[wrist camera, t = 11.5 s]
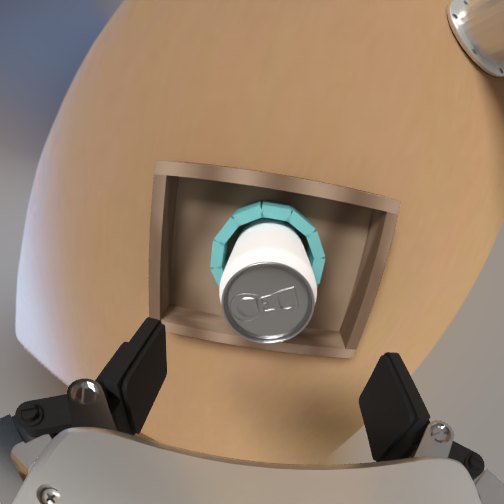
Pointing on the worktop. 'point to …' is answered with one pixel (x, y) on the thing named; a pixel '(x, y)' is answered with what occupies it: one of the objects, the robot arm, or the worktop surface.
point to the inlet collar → (274, 212)
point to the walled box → (215, 217)
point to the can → (268, 283)
